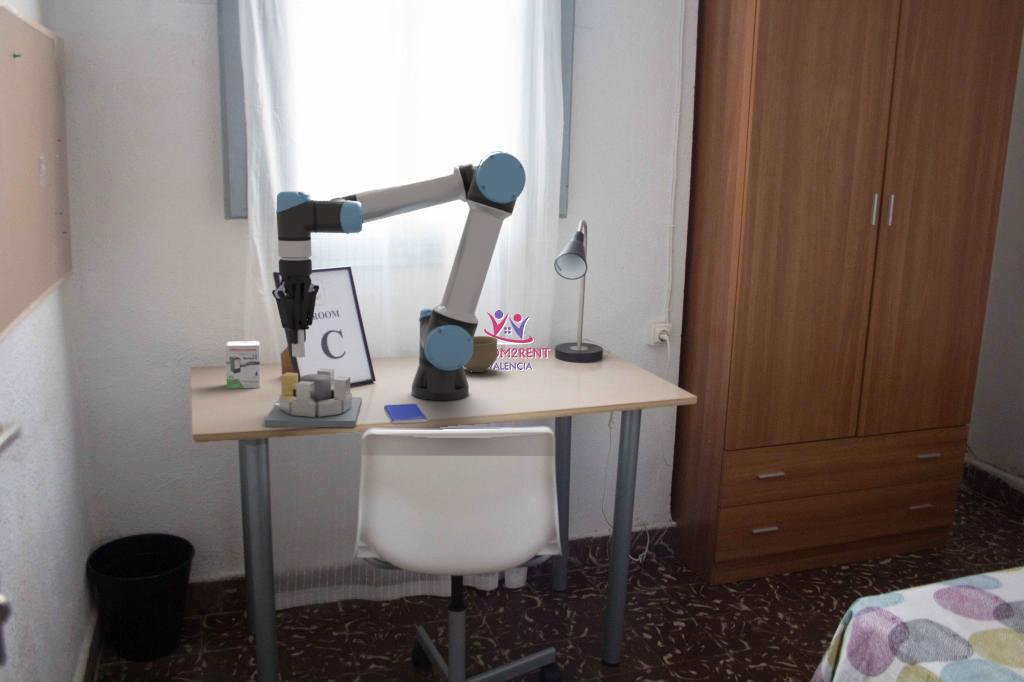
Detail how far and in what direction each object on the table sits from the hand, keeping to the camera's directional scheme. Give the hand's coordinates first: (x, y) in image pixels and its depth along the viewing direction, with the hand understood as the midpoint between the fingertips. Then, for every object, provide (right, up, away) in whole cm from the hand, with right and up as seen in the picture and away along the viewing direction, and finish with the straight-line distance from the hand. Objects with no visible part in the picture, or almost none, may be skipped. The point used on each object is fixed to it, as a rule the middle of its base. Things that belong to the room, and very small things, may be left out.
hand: (298, 356), depth 197 cm
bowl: (+40, -6, +48) cm, 63 cm away
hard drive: (+25, -15, +2) cm, 30 cm away
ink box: (-20, -9, +21) cm, 30 cm away
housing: (+4, -14, -1) cm, 15 cm away
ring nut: (+4, -12, -1) cm, 13 cm away
